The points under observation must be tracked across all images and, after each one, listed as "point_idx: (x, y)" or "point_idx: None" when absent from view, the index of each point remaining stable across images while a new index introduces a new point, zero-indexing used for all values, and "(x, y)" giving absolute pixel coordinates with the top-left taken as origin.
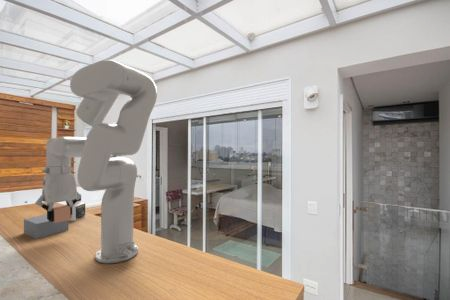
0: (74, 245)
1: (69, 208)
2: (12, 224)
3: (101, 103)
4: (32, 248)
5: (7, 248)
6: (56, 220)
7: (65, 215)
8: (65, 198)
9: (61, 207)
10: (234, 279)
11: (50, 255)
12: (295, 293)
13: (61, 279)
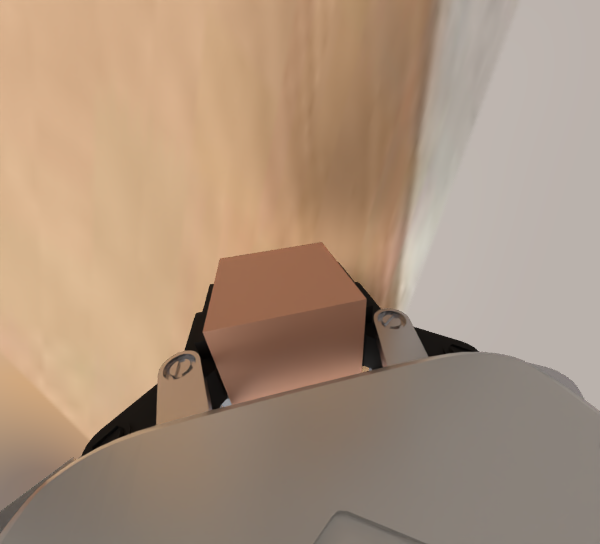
0: (230, 87)
1: (215, 314)
2: None
3: None
4: (370, 211)
5: (414, 272)
6: (316, 250)
7: (256, 270)
8: (267, 436)
9: (293, 335)
10: None
11: (354, 33)
12: None
13: None
